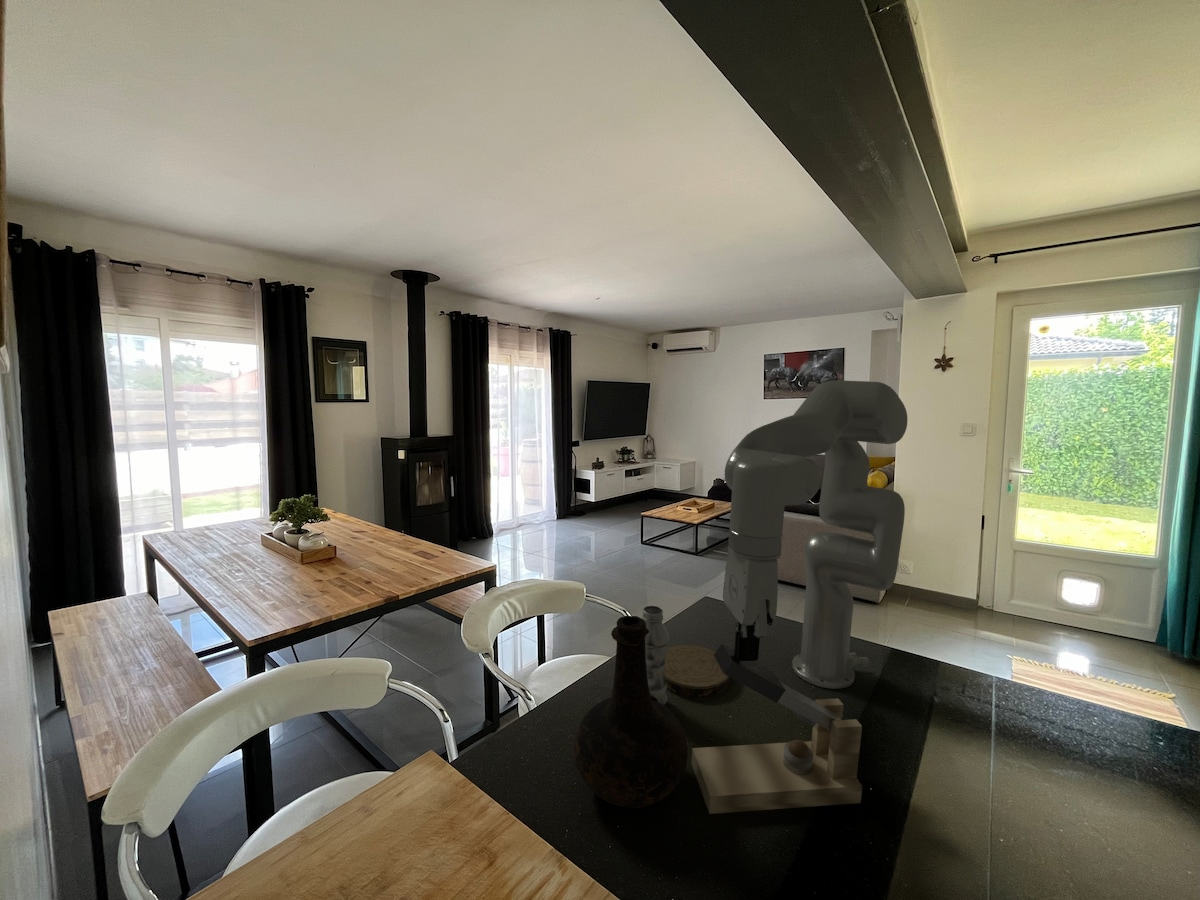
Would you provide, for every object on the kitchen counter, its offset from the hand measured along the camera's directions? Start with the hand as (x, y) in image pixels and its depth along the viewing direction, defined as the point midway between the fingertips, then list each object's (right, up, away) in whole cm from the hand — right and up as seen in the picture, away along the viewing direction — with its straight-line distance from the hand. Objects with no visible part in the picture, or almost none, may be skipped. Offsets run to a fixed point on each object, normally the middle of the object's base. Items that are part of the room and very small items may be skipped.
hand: (745, 657), depth 81 cm
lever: (+5, -8, +2) cm, 10 cm away
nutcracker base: (+6, -22, +5) cm, 23 cm away
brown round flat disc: (-2, -18, +34) cm, 38 cm away
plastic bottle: (-12, -19, +24) cm, 33 cm away
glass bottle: (-18, -22, +4) cm, 28 cm away
